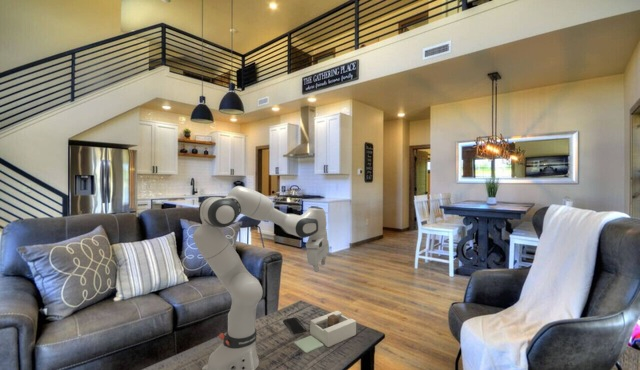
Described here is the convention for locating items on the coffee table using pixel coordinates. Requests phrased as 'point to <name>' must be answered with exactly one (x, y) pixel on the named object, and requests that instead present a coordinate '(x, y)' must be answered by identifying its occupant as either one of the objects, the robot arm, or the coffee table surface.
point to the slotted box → (332, 329)
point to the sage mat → (308, 344)
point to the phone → (294, 325)
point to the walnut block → (333, 320)
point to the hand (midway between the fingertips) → (320, 267)
